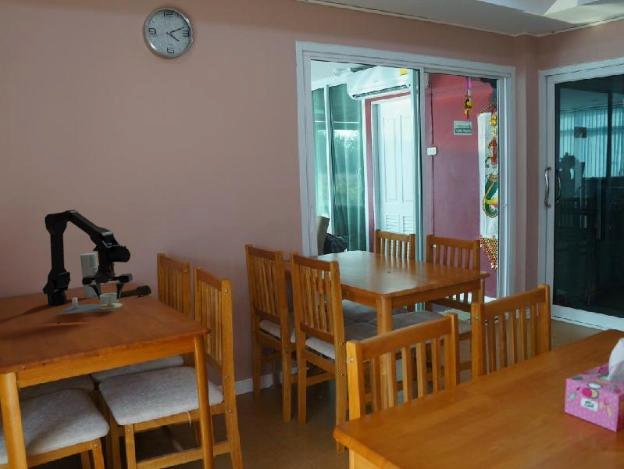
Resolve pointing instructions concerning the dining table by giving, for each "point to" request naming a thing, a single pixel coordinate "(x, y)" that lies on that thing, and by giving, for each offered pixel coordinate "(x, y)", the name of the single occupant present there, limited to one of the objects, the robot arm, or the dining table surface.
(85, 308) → the rod board
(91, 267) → the spray can
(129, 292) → the hand tool
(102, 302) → the ring
